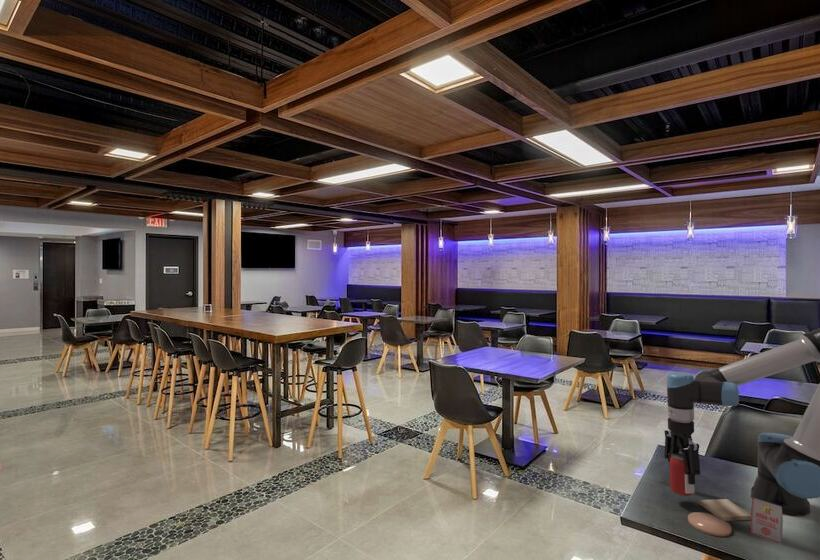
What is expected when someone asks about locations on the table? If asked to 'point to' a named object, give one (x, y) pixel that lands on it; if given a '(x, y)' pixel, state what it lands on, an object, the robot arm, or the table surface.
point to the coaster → (709, 524)
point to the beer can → (678, 474)
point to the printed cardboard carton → (767, 520)
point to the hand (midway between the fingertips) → (681, 487)
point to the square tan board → (725, 509)
